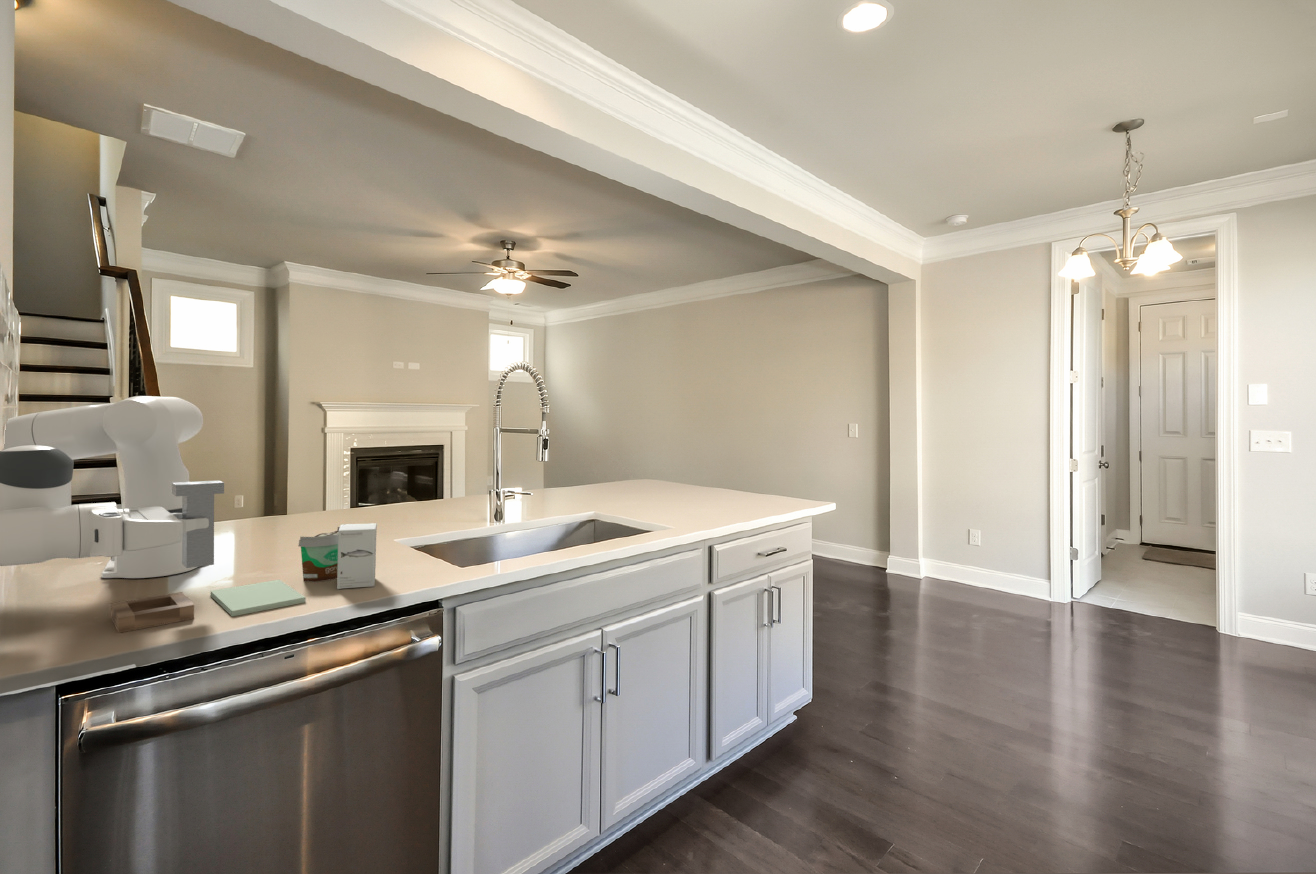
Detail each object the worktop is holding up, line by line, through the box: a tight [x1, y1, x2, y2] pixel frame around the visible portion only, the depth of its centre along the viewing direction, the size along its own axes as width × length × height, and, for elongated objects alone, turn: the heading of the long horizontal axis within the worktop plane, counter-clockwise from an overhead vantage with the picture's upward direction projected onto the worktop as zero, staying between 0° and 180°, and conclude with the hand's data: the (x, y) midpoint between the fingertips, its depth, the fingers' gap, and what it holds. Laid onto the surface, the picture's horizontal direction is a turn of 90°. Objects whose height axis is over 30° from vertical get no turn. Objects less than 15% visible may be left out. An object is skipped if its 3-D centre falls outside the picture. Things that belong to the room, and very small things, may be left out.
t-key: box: [172, 479, 225, 568], centre depth 110 cm, size 4×7×15 cm, turn 137°
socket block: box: [110, 591, 195, 634], centre depth 107 cm, size 10×10×2 cm
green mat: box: [210, 579, 307, 617], centre depth 119 cm, size 16×12×1 cm
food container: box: [297, 526, 340, 582], centre depth 135 cm, size 12×6×10 cm, turn 168°
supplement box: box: [336, 522, 378, 590], centre depth 130 cm, size 7×7×13 cm
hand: (204, 520), depth 111 cm, fingers closed on t-key, 4 cm apart
